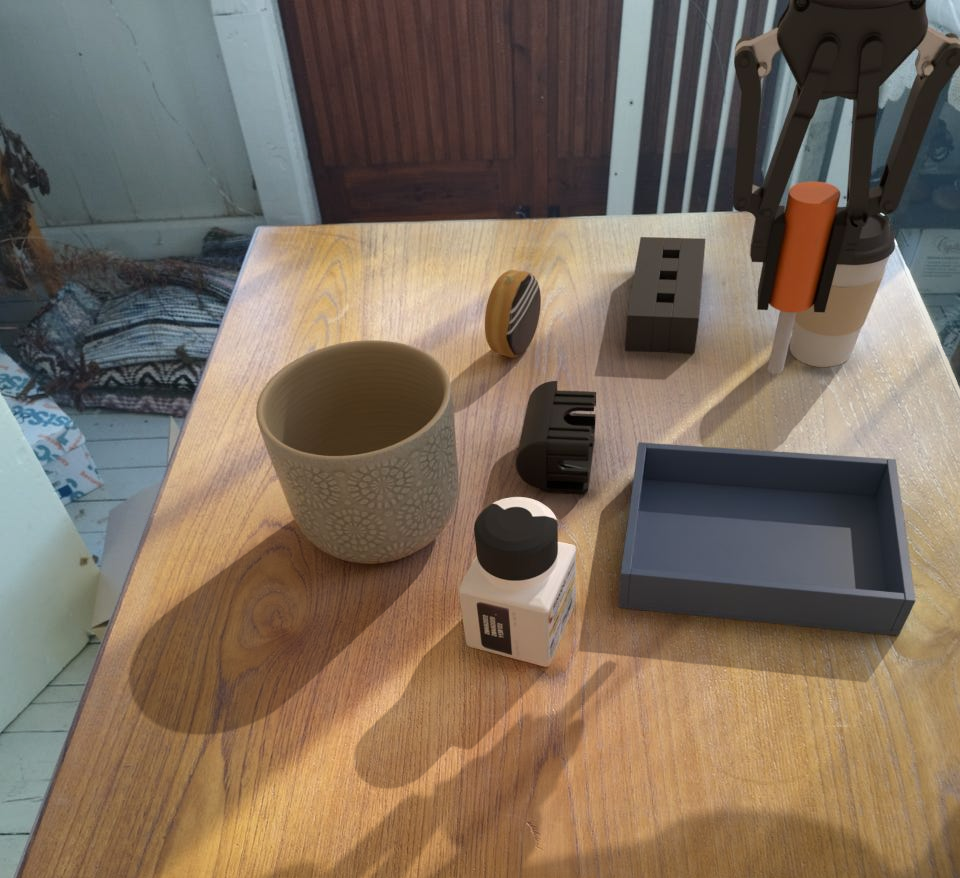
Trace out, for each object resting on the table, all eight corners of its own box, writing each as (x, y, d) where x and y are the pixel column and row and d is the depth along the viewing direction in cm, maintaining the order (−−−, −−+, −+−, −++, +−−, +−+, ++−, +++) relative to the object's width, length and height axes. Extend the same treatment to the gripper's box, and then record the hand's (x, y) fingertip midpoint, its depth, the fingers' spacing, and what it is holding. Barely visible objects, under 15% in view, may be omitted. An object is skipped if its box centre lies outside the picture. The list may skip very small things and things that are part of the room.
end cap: (529, 432, 94) (527, 378, 89) (595, 434, 93) (597, 380, 88) (516, 494, 88) (513, 441, 83) (587, 498, 87) (588, 444, 82)
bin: (882, 495, 84) (896, 458, 80) (899, 636, 73) (916, 601, 70) (635, 477, 88) (638, 442, 85) (618, 607, 78) (620, 573, 74)
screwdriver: (796, 359, 71) (839, 181, 60) (797, 383, 69) (841, 204, 58) (753, 356, 72) (788, 180, 61) (753, 381, 70) (789, 203, 59)
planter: (499, 502, 87) (489, 371, 75) (397, 613, 79) (367, 484, 67) (369, 449, 94) (341, 321, 82) (262, 546, 86) (214, 419, 74)
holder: (701, 272, 111) (705, 238, 108) (694, 353, 101) (699, 318, 97) (638, 270, 113) (640, 236, 109) (624, 350, 102) (627, 315, 99)
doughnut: (511, 375, 101) (506, 294, 93) (483, 368, 102) (476, 288, 94) (545, 332, 106) (543, 252, 98) (517, 326, 107) (513, 247, 99)
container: (548, 669, 74) (546, 564, 64) (465, 647, 76) (449, 542, 66) (576, 604, 78) (578, 495, 68) (496, 584, 80) (486, 477, 70)
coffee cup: (775, 367, 98) (804, 236, 86) (783, 323, 103) (811, 194, 91) (860, 376, 96) (902, 243, 84) (863, 331, 101) (903, 200, 89)
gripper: (721, -71, 47) (676, 323, 65) (1056, -83, 44) (911, 334, 62) (725, -107, 51) (683, 271, 70) (1029, -120, 48) (901, 279, 67)
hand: (790, 300), depth 66 cm, fingers closed on screwdriver, 3 cm apart
